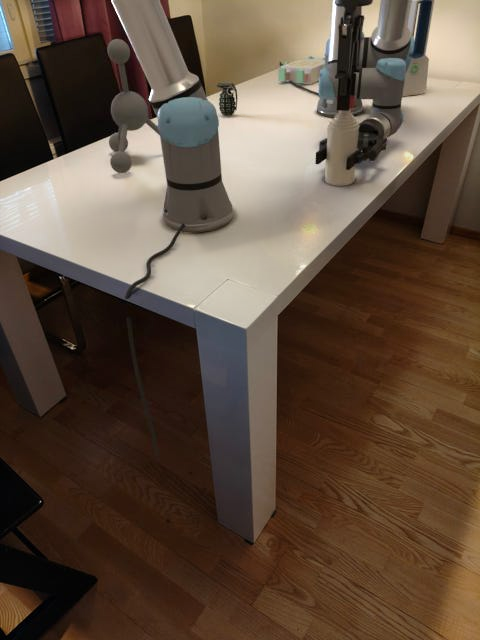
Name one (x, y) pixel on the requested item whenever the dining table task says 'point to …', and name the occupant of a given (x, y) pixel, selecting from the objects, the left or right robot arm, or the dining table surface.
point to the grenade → (227, 99)
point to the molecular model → (125, 110)
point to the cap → (351, 101)
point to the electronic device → (418, 47)
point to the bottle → (341, 148)
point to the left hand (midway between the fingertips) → (345, 107)
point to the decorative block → (302, 70)
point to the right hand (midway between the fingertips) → (332, 161)
